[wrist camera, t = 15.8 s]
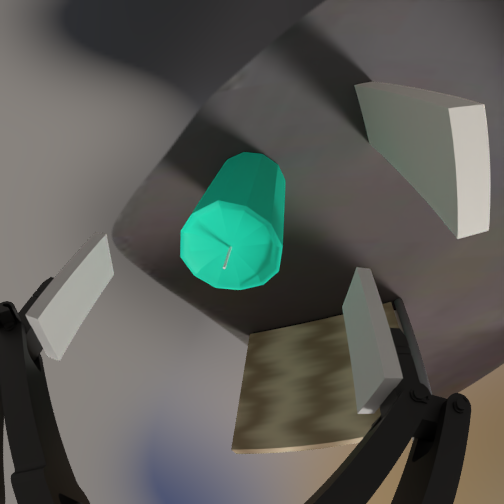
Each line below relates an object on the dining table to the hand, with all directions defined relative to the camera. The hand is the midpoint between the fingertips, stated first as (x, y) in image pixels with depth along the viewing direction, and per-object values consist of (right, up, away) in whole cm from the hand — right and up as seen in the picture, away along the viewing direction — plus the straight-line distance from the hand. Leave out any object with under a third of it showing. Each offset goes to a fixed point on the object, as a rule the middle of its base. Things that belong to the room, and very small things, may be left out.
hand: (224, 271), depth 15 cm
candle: (+1, +7, +11) cm, 13 cm away
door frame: (+15, +1, +12) cm, 19 cm away
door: (+9, -8, +18) cm, 22 cm away
